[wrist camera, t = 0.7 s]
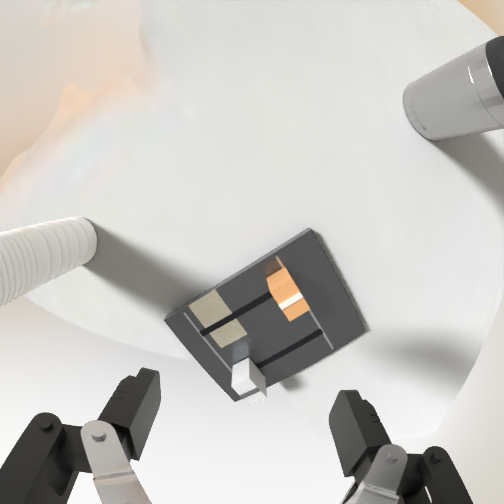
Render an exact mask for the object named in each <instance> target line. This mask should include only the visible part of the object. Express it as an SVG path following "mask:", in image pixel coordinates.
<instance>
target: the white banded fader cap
mask: <svg viewBox="0 0 504 504" xmlns="http://www.w3.org/2000/svg"><path fill="white" fill-rule="evenodd" d="M231 387H232V388H233V389H234V390H235V391H236V392H237V393H238V394H239V396H240V397H241V399H243V400H244V401H245V402H246V403H247V404H248V405H249V406H251V405H253V404H256V403H258V402H260V401H262V400H265V399H266V398H267V392H266V383H265V376H264V375H263V374H262V373H261V372H260V370H259V369H258V368H257V367H256V366H255V364H254V363H253V362H252V361H251V359H250V358H247V359H245V360H243V361H241V362H239V363H237V364H235V365H233V369H232V384H231Z"/></svg>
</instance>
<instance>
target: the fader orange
mask: <svg viewBox="0 0 504 504" xmlns="http://www.w3.org/2000/svg"><path fill="white" fill-rule="evenodd" d="M267 282H268V286H269V290H270V293H271V294H272V296H273V297H274V299H275V300H276V302H277V303H278V305H279V307H280V308H281V310H282V311H283V312H284V314H285V315H286V317H287V318H288V320H289V321H292V320H293V319H295V318H297V317H298V316H300V315H302V314H303V313H305V312H307V311H308V310H310V307H309V306H308V304H307V302H306V300H305V298H304V297H303V295H302V293H301V291H300V290H299V288H298V286H297V285H296V283H295V282H294V280H293V278H292V277H291V275H290V274H289V272H288V270H287V269H286V267H284V268H282V269H280V270H279V271H277V272H276V273H274V274H272V275H271V276H269V277H267Z"/></svg>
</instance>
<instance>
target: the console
mask: <svg viewBox="0 0 504 504" xmlns="http://www.w3.org/2000/svg"><path fill="white" fill-rule="evenodd" d="M284 267H286V269H287V270H288V272H289V274H290V275H291V277H292V278H293V280H294V282H295V283H296V285H297V286H298V288H299V290H300V291H301V293H302V295H303V297H304V298H305V300H306V302H307V304H308V306H309V307H310V310H308V311H307V312H305V313H303V314H302V315H300V316H298V317H297V318H295V319H293V320H292V321H289V320H288V318H287V317H286V315H285V314H284V312H283V311H282V310H281V308H280V307H279V305H278V303H277V302H276V300H275V299H274V297H273V296H272V294H271V293H270V290H269V286H268V282H267V277H269V276H271V275H272V274H274V273H276V272H277V271H279V270H280V269H282V268H284ZM164 321H165V322H166V324H167V325H168V326H169V328H170V329H171V330H172V331H173V333H174V334H175V335H176V336H177V338H178V339H179V340H180V341H181V342H182V344H183V345H184V346H185V347H186V349H187V350H188V351H189V352H190V353H191V354H192V356H193V357H194V358H195V359H196V360H197V361H198V363H199V364H200V365H201V366H202V367H203V368H204V369H205V370H206V372H207V373H208V374H209V375H210V376H211V377H212V378H213V379H214V380H215V382H216V383H217V384H218V385H219V386H220V387H221V388H222V389H223V390H224V391H225V392H226V393H227V394H228V395H229V396H230V397H231V398H232V399H233V400H234V401H235V402H236V401H238V400H241V397H240V396H239V394H238V393H237V392H236V391H235V390H234V389H233V388H232V387H231V384H232V369H233V365H235V364H237V363H239V362H241V361H243V360H245V359H247V358H250V359H251V361H252V362H253V363H254V364H255V366H256V367H257V368H258V369H259V370H260V372H261V373H262V374H263V375H264V376H265V383H266V388H267V387H269V386H271V385H273V384H275V383H277V382H279V381H281V380H283V379H285V378H287V377H289V376H291V375H293V374H295V373H297V372H298V371H300V370H302V369H304V368H306V367H308V366H309V365H311V364H313V363H315V362H317V361H318V360H320V359H322V358H324V357H325V356H327V355H329V354H330V353H332V352H334V351H335V350H337V349H339V348H340V347H342V346H344V345H345V344H347V343H348V342H350V341H352V340H353V339H355V338H356V337H358V336H359V335H361V334H362V333H364V332H365V329H364V327H363V325H362V323H361V321H360V319H359V317H358V315H357V313H356V311H355V309H354V307H353V305H352V303H351V301H350V299H349V297H348V295H347V293H346V291H345V289H344V287H343V285H342V284H341V282H340V280H339V278H338V276H337V274H336V272H335V270H334V269H333V267H332V265H331V263H330V261H329V259H328V258H327V256H326V254H325V252H324V250H323V249H322V247H321V245H320V243H319V242H318V240H317V238H316V236H315V235H314V233H313V231H312V229H310V228H307V229H306V230H304V231H303V232H301V233H299V234H298V235H296V236H295V237H293V238H291V239H290V240H288V241H287V242H285V243H283V244H282V245H280V246H279V247H277V248H275V249H274V250H272V251H271V252H269V253H267V254H266V255H264V256H263V257H261V258H259V259H258V260H256V261H255V262H253V263H251V264H250V265H248V266H246V267H245V268H243V269H242V270H240V271H238V272H237V273H235V274H234V275H232V276H230V277H229V278H227V279H225V280H224V281H222V282H221V283H219V284H217V285H216V286H214V287H212V288H211V289H209V290H208V291H206V292H204V293H203V294H201V295H199V296H198V297H196V298H194V299H193V300H191V301H190V302H188V303H186V304H185V305H183V306H181V307H180V308H178V309H176V310H175V311H173V312H171V313H170V314H168V315H167V316H166V317H165V319H164Z"/></svg>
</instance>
